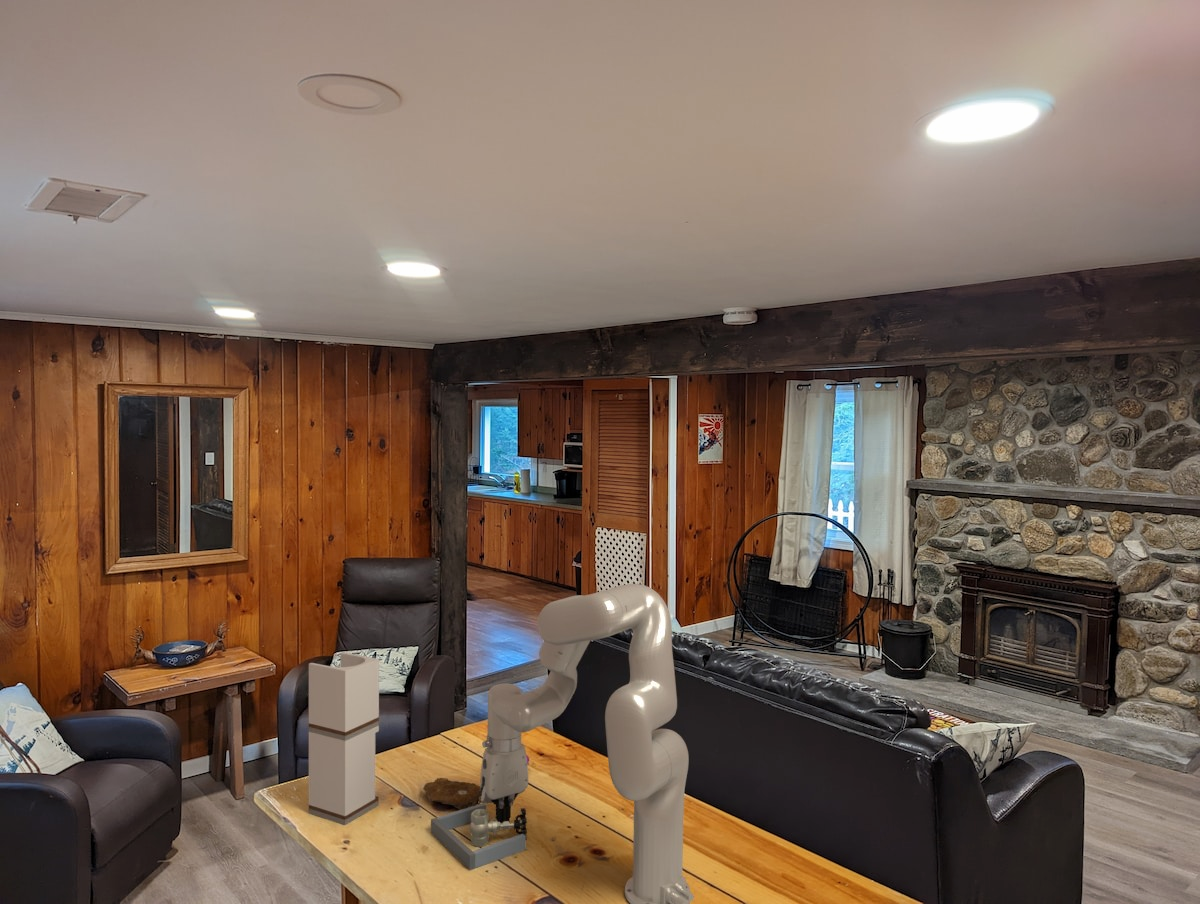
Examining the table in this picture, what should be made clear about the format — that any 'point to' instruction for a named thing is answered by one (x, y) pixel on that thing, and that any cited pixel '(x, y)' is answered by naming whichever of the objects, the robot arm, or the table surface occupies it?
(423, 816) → the table surface
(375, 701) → the banded square pillar
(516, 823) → the valve
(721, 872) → the table surface
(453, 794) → the decorative rock
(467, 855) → the dock cradle
